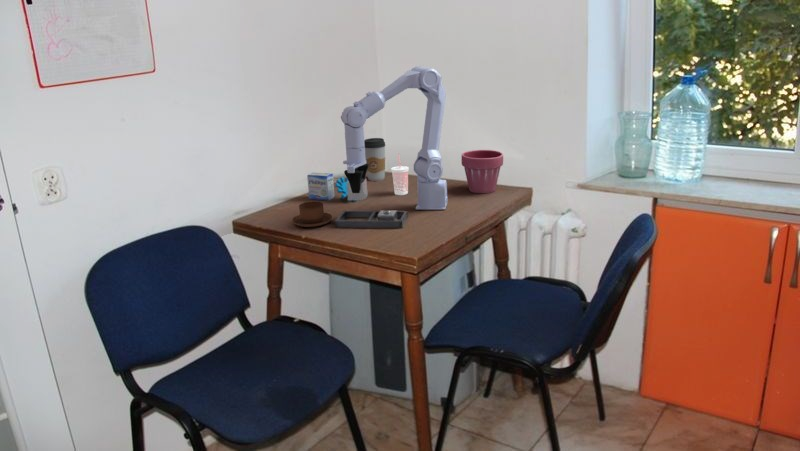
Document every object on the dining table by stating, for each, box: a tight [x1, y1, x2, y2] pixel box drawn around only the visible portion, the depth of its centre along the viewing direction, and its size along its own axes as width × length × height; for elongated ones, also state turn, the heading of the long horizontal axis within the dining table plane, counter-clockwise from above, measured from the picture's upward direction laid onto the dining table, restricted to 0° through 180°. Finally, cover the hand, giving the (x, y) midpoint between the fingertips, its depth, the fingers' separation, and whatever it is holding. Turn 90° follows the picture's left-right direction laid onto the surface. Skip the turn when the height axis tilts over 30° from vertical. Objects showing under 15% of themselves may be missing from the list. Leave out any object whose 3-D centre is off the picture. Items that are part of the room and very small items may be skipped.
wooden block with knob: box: [377, 209, 398, 221], centre depth 204 cm, size 5×5×4 cm
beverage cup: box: [390, 153, 410, 196], centre depth 233 cm, size 6×6×14 cm
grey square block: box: [347, 177, 369, 201], centre depth 207 cm, size 5×5×6 cm
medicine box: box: [307, 172, 335, 201], centre depth 233 cm, size 8×4×9 cm, turn 68°
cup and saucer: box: [292, 200, 333, 228], centre depth 207 cm, size 12×12×6 cm
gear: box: [335, 176, 358, 202], centre depth 231 cm, size 11×6×10 cm
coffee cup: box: [364, 137, 386, 182], centre depth 254 cm, size 8×8×15 cm
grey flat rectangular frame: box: [334, 210, 409, 229], centre depth 206 cm, size 20×11×2 cm, turn 80°
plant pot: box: [461, 149, 504, 194], centre depth 232 cm, size 14×14×13 cm
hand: (358, 190), depth 207 cm, fingers closed on grey square block, 5 cm apart
